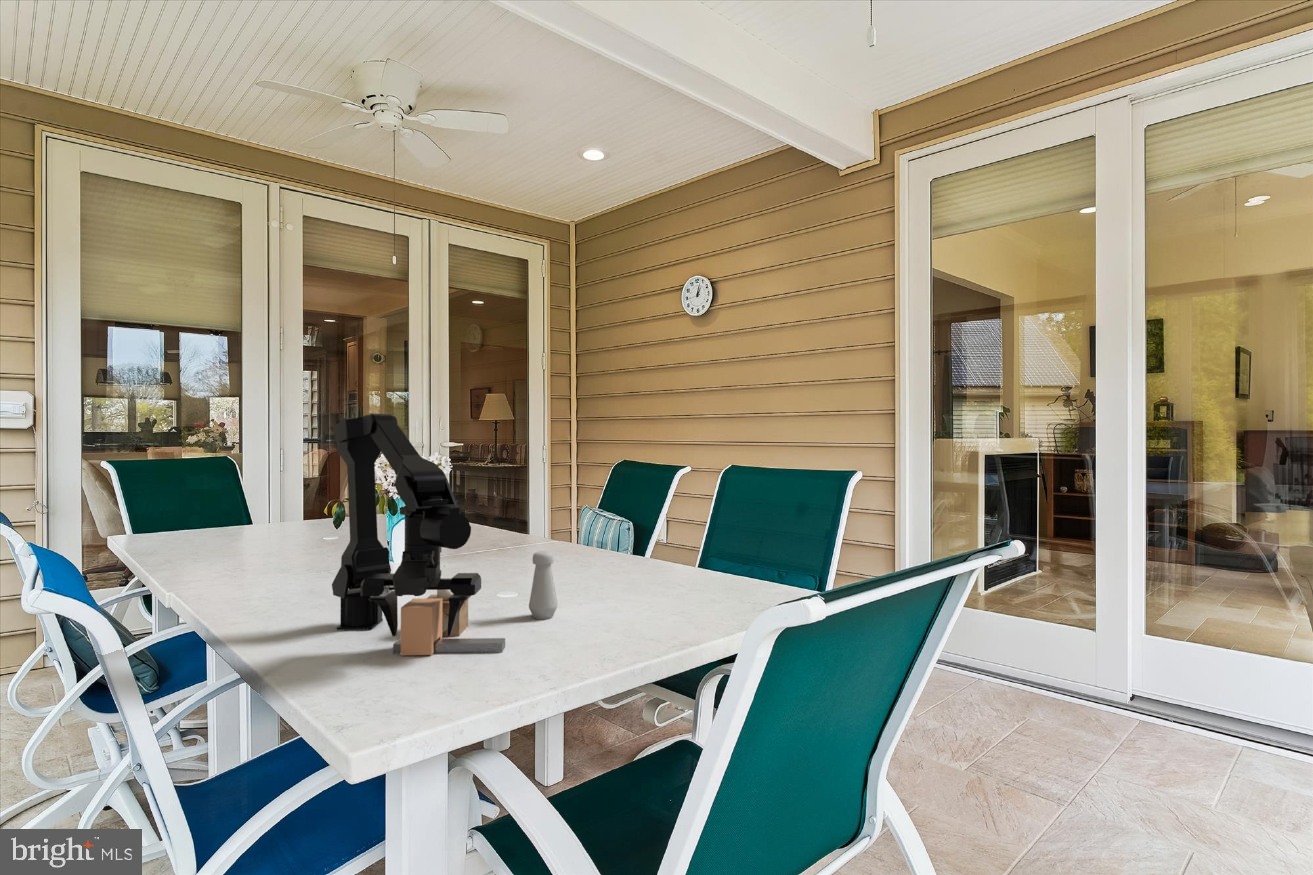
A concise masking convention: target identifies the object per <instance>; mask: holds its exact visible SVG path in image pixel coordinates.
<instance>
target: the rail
mask: <svg viewBox="0 0 1313 875" xmlns="http://www.w3.org/2000/svg"><path fill="white" fill-rule="evenodd" d="M505 648H506V637H496V638H495V637H493V638H492V637H491V638H490V637H488V638H486V637H485V638H483V637H482V638H480V637H479V638H478V637H477V638H476V637H475V638H473V637H472V638H467V637H466V638H442V639H437V640H436V641H435V642H434V653H433V654H435V653H436V654H441V653H442V654H445V653H446V654H447V653H448V654H450V653H451V654H454V653H455V654H456V653H457V654H459V653H461V654H462V653H503V651H504V650H505ZM392 653H393V654H401V638H399V639H397V640H396V641H395V642H394V643H393V645H392Z"/></svg>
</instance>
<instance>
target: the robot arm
mask: <svg viewBox="0 0 1313 875" xmlns="http://www.w3.org/2000/svg"><path fill="white" fill-rule="evenodd" d="M333 438H334V440H335V442H336V450H337V453H338V455H339V456H340V457H341V459H342V460H343V461H344V463H345V465H346V468H347V470H346V471H347V472H346V473H347V495H348V496H347V497H348V517H349V518H348V519H349V520H348V521H349V543H348V544H347V546H346V548H345V550H344V551H343V553H342V555H341V560H340V566H339V569H338V571H337V574H336V575H335V577H334V579H333V581H332V583H331V588H332V595H333V596H335V597H338V598H340V622H339V623H340V625H339V624H338V625H337V626H336V630H345V631H346V630H355V631H356V630H372V629H374V628H375V627H377V626H378V625H379V624H381V623H382V622H383V621H384V619H383V616H384V618H385V620H386V623H387V626H388V628H389V631H390V633H391V636H392V637H396V636H397V634H398V626H399V623H398V619H399V618H398V616H399V615H398V612H399V611H398V597H403V596H414V597H420V596H423V595H424V594H425V595H426V593H427V591H432V590H433V591H434V590H435V591H437V590H450V591H451V592H452V593H453V595H452V596H450V597H449V605H450V607H449V617H448V636H447V637H451V636H450V635H451V634H452V632H453V629H454V626H455V623H456V620H457V618H458V615H459V612H460V610H461V607H462V605H463V603H464V601H465V600H467V599H468V600H470V598H471V597H472V596H475V595H477V594H478V592H480V590H481V589H482V577H481V575H480V574H479V573H478V572H458V573H456V574H455V575H454V576H453V577H451V578H448V577H447V578H441V577H442V569H441V553H442V548H445V549H451V550H457V549H460V548H462V547H464V546H465V545H466V544H467V543H468V541H469V539H470V538H471V534H472V526H471V524H470V521H469V519H468V518H467V516H465V515H463V514H462V513H461V507H460V506H459V505H458V503H457V497H456V496H455V494H454V492H453V489H452V487H451V485H450V482H449V480H448V478H447V476H446V474H445V472H444V471H443V470H442V469H441V468H440V467H439V466H438V465H437V464H436V463H435V462H433V461H430V460H428V459H426V458H423V457H422V456H421V455H420V454H419V452H418V450H417V449H416V448H415V447H414V445H413V444H412V443H411V441H410V440H409V438H408V437H407V436H406V435H405V433H404V432H403V430H402V428H401V427H400V426H399V424H398V418H397V417H396V416H395V415H392V414H390V413H370V414H366V415H363V416H359V417H355V418H354V417H343V418H341V419H340V421H339V422H338V423H336V424H335V426H334V429H333ZM381 454H382V455H383V456H384V458H385V459H386V461H387V463H388V465H390V467H391V468H392V470H393V472H394V474H395V479H394V488H395V490H396V492H397V495H398V496H399V498H400V500H401V501H402V502H403V503H404V506H403V507H401V509H400V510H399V514H400V515H402V516H404V551H402V555H401V562H400V565H399V566H398V567H397V569H396V570H395V571H394V573H391V572H392V569H391V564H390V551H389V548H388V547H384V546H383V544H382V542H381V541H380V540H379V537H378V535H379V534H378V518H377V517H378V516H377V515H378V514H377V513H378V512H377V511H378V510H377V492H376V491H377V490H376V488H377V486H376V471H375V470H376V468H375V463H376V461H377V460H378V459H379V456H380V455H381Z"/></svg>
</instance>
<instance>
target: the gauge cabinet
mask: <svg viewBox="0 0 1313 875" xmlns="http://www.w3.org/2000/svg"><path fill="white" fill-rule="evenodd" d="M427 598H437V594H430V595H428V596H427ZM449 607H450V605H449V599H447V600H442V637H459V636H461V634H462V633H463V632H464V631H465V630H466V629H467V628H468V627H469V599H467V600H465V601H464V603H463V605H462V607H461V610H460V612H459V615H458V618H457V620H456V623H455V626H454V629H453V632H452V634H451V635H450V636H448V617H449Z"/></svg>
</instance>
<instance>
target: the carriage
mask: <svg viewBox="0 0 1313 875" xmlns="http://www.w3.org/2000/svg"><path fill="white" fill-rule="evenodd" d="M400 639H401V653H400V656H432V655H433V654H435V653H434V642H435V641H436V640H437V639H443V636H442V598H428V597H425V598H422V597H421V598H412V599H411V600H409V601H408V602H406V603H405V604H404V605H402V606H401V607H400Z"/></svg>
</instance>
